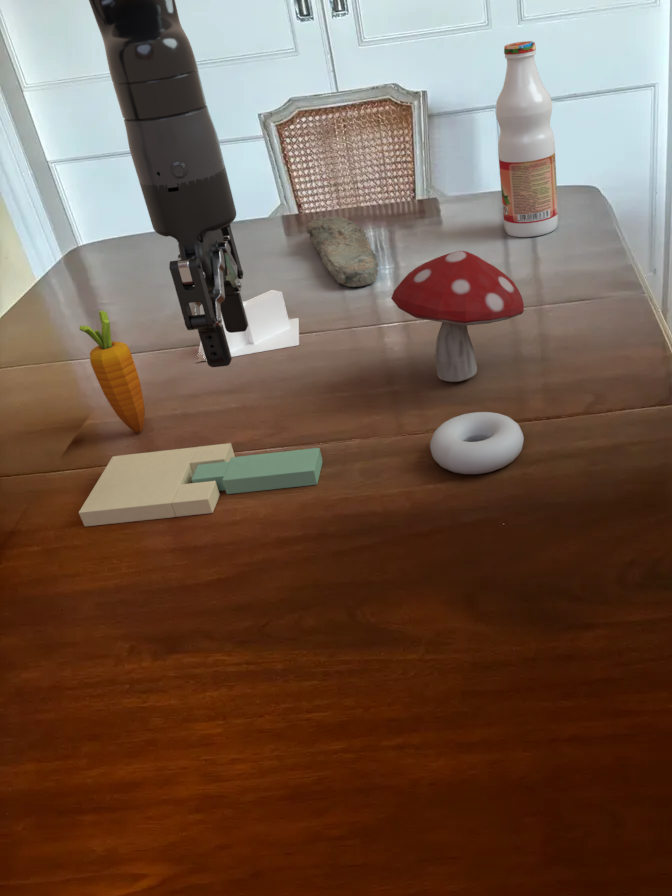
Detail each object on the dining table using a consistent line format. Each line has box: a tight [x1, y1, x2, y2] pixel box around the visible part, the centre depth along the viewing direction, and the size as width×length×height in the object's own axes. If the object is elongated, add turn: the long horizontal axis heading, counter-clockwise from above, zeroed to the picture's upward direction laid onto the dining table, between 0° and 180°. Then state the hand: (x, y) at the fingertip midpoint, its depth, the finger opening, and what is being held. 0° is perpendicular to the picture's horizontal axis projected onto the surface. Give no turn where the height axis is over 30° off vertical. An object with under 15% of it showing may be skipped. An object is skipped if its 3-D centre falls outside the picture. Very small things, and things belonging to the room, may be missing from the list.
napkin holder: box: [197, 289, 300, 362], centre depth 130 cm, size 15×11×6 cm
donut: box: [429, 411, 525, 475], centre depth 95 cm, size 10×4×10 cm
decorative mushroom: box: [390, 250, 525, 383], centre depth 108 cm, size 16×16×15 cm
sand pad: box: [78, 442, 236, 528], centre depth 98 cm, size 14×12×2 cm
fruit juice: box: [495, 40, 559, 238], centre depth 148 cm, size 9×9×28 cm
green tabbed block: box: [191, 447, 324, 495], centre depth 97 cm, size 14×5×2 cm, turn 90°
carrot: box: [79, 310, 146, 435], centre depth 107 cm, size 5×5×15 cm
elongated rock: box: [305, 216, 379, 288], centre depth 155 cm, size 35×5×10 cm
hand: (229, 347), depth 88 cm, fingers open, 8 cm apart
